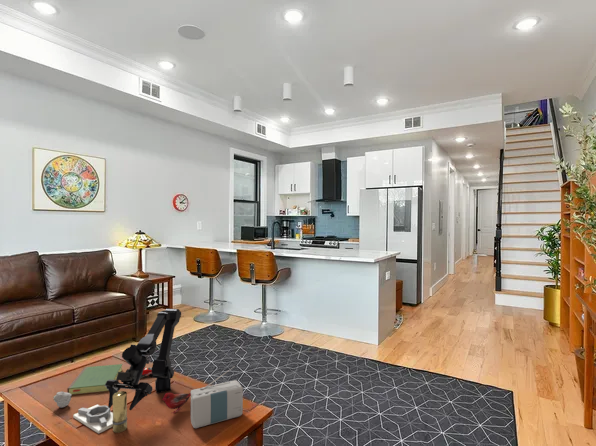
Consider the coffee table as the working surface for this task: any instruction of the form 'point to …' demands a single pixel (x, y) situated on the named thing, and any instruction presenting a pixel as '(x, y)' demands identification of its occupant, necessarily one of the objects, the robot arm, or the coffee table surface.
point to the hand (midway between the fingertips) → (119, 408)
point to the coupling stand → (95, 417)
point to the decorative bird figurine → (175, 400)
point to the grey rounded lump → (62, 399)
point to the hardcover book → (94, 379)
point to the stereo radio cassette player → (216, 403)
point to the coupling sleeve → (119, 411)
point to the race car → (147, 372)
